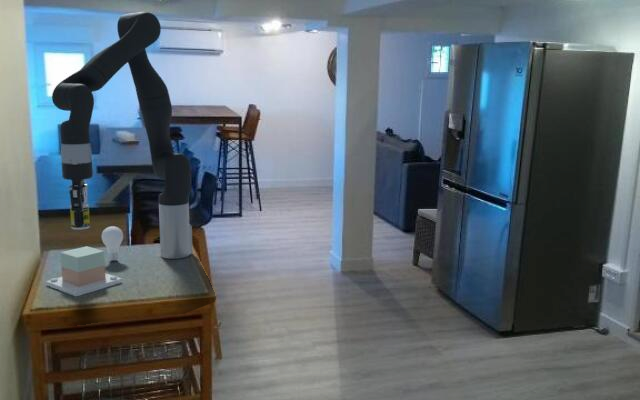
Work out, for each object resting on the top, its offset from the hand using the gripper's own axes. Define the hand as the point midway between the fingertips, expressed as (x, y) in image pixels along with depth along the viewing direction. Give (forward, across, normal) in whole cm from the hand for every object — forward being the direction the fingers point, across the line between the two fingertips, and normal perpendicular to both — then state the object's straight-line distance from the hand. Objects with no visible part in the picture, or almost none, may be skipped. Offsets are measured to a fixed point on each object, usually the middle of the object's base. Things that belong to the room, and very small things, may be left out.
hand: (80, 222), depth 162 cm
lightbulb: (+17, -21, +6) cm, 28 cm away
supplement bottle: (+2, 0, 0) cm, 2 cm away
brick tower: (+17, 0, 0) cm, 17 cm away
